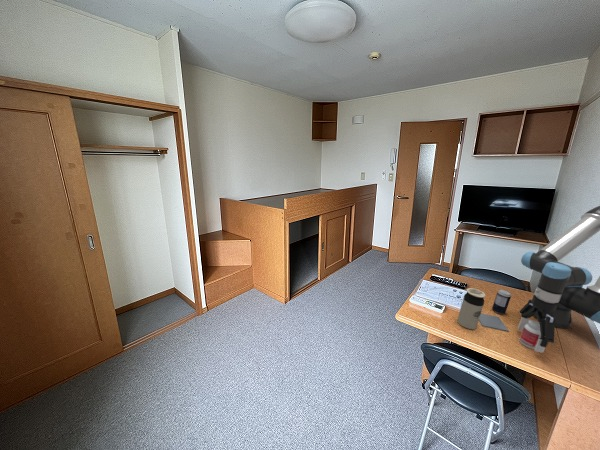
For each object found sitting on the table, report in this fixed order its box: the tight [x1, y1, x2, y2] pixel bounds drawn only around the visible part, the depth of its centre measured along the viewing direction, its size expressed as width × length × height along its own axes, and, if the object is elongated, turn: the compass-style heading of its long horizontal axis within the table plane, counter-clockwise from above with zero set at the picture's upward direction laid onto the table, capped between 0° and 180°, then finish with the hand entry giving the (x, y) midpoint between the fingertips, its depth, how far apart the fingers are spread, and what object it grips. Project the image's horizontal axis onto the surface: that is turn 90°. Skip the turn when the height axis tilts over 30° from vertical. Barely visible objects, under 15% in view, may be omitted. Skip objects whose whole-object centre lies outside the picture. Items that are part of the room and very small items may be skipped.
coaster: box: [478, 312, 510, 333], centre depth 122 cm, size 11×11×1 cm
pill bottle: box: [518, 319, 541, 350], centre depth 107 cm, size 6×6×11 cm
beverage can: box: [492, 289, 512, 315], centre depth 129 cm, size 6×6×12 cm
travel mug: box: [456, 287, 486, 330], centre depth 117 cm, size 8×8×18 cm
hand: (529, 340), depth 108 cm, fingers open, 13 cm apart
